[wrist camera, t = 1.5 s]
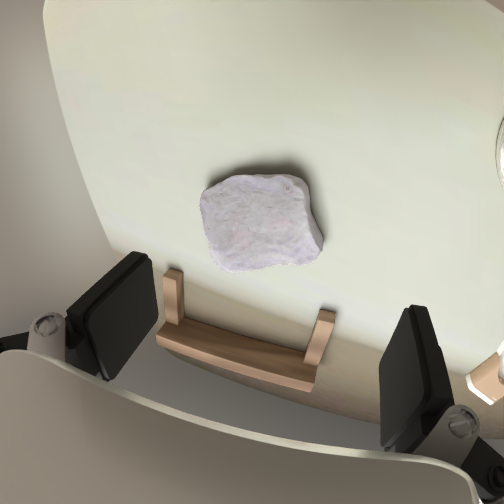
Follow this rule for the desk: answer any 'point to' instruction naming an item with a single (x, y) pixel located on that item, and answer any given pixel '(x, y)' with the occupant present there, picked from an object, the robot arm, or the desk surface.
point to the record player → (489, 378)
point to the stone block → (260, 222)
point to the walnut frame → (240, 343)
